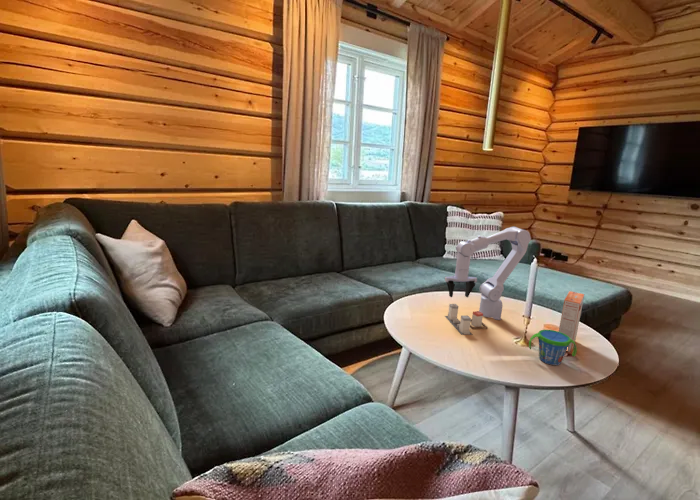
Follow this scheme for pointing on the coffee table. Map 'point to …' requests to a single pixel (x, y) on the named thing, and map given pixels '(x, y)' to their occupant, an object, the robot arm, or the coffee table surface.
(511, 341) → the coffee table surface
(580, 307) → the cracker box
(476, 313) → the red cap fuse
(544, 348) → the snack cup
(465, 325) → the fuse slot
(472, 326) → the tray
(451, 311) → the block
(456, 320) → the block
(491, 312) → the robot arm
